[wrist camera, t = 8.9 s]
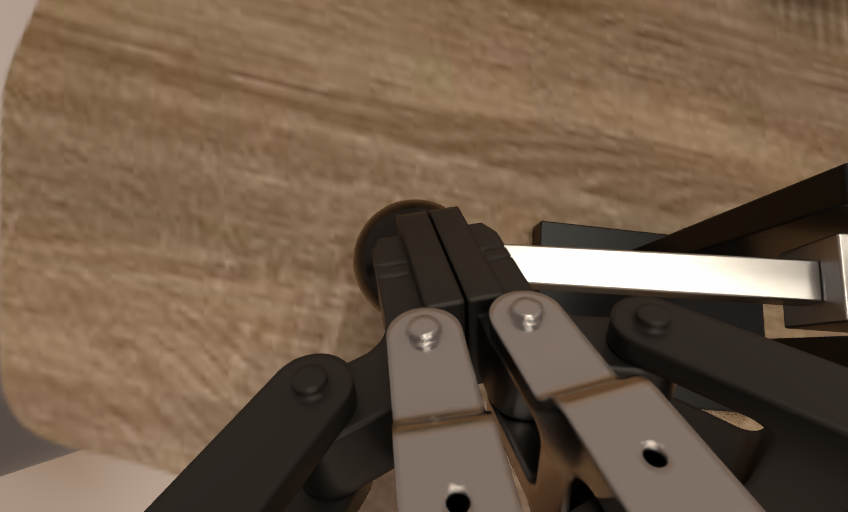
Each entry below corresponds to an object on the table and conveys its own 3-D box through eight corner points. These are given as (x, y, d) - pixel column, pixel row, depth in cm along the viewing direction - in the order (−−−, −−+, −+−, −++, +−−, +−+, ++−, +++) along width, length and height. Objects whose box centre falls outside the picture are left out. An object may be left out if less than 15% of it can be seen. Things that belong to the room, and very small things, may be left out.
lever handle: (363, 322, 16) (330, 311, 12) (374, 217, 16) (346, 178, 13) (878, 361, 14) (1014, 361, 10) (864, 240, 14) (986, 201, 11)
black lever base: (527, 394, 22) (727, 447, 9) (533, 226, 24) (709, 84, 11) (750, 411, 23) (1202, 481, 10) (741, 249, 25) (1120, 141, 12)
